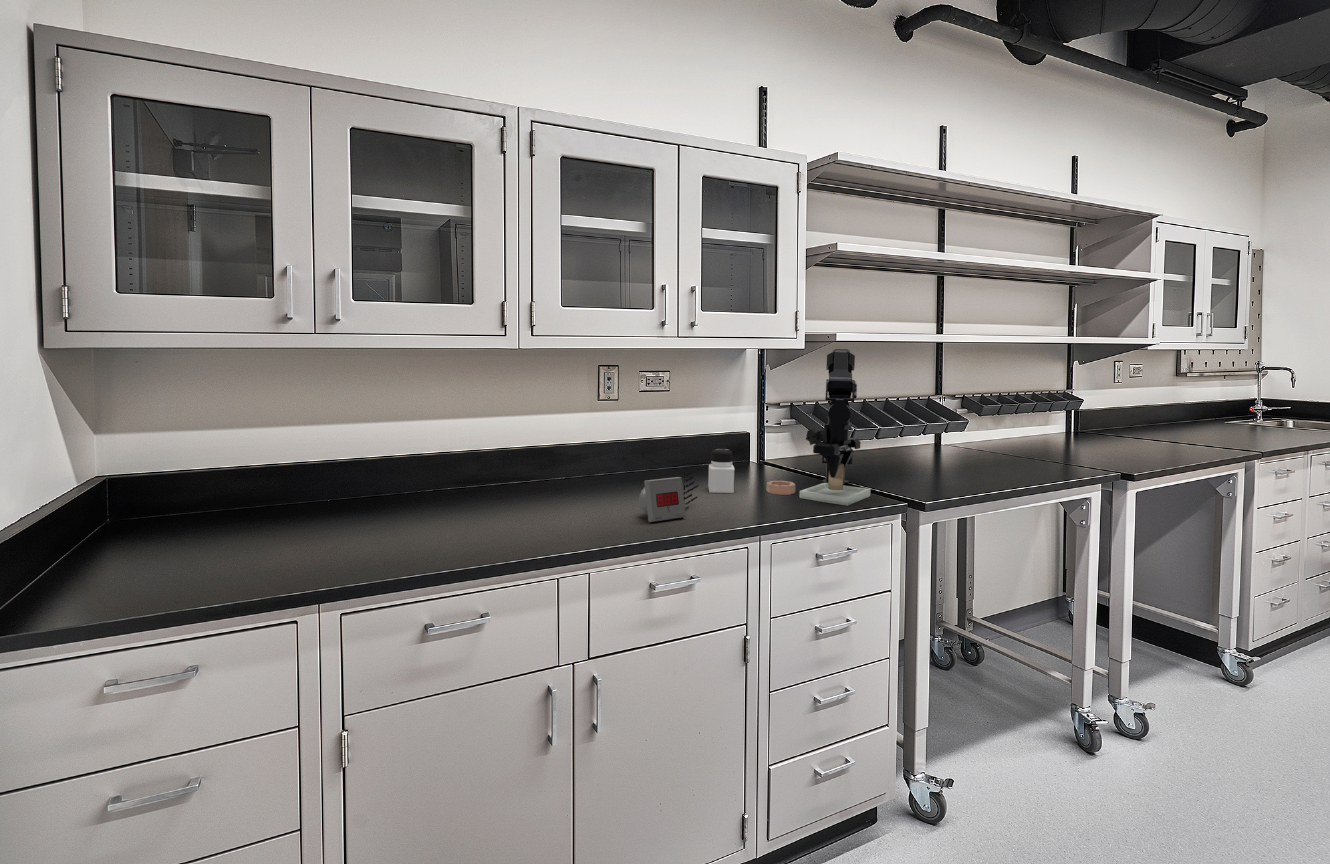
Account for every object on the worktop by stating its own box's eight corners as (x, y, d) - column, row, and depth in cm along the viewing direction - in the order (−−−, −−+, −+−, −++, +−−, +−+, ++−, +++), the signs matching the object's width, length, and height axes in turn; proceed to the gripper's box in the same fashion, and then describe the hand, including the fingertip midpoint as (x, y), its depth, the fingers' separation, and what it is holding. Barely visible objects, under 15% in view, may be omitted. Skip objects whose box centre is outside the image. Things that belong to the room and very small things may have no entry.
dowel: (831, 486, 198) (832, 462, 197) (845, 488, 196) (846, 464, 195) (825, 488, 195) (826, 464, 194) (839, 490, 193) (840, 465, 192)
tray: (824, 489, 206) (824, 482, 206) (870, 496, 198) (870, 489, 198) (799, 498, 194) (799, 490, 193) (847, 505, 185) (847, 498, 185)
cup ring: (775, 488, 207) (775, 479, 207) (798, 491, 202) (799, 483, 202) (762, 492, 201) (762, 483, 201) (786, 495, 196) (786, 487, 196)
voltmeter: (675, 526, 161) (675, 484, 160) (629, 521, 165) (630, 480, 164) (709, 503, 186) (710, 466, 184) (669, 499, 190) (669, 463, 188)
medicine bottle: (734, 493, 199) (735, 451, 197) (709, 492, 199) (710, 451, 197) (732, 488, 206) (733, 448, 204) (708, 487, 206) (709, 447, 204)
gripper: (826, 416, 205) (823, 468, 207) (796, 421, 191) (794, 477, 193) (862, 419, 199) (859, 473, 201) (834, 424, 184) (832, 482, 186)
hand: (836, 476), depth 195 cm, fingers closed on dowel, 4 cm apart
